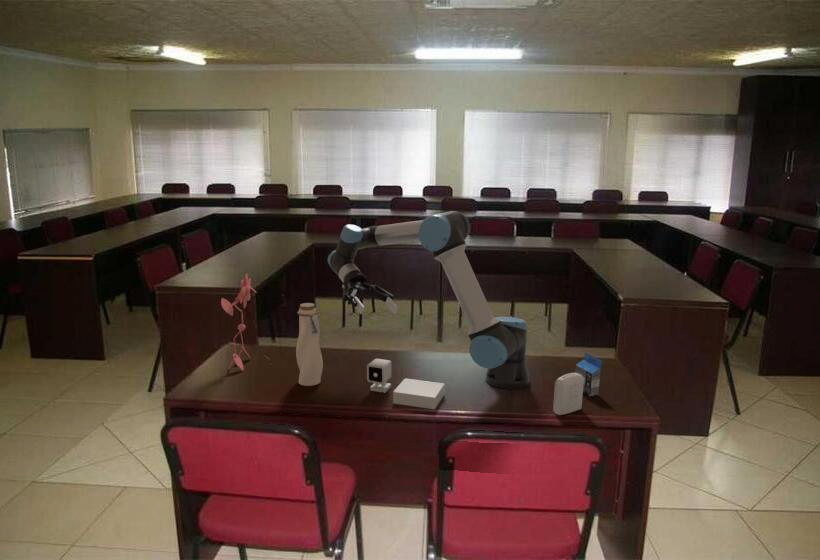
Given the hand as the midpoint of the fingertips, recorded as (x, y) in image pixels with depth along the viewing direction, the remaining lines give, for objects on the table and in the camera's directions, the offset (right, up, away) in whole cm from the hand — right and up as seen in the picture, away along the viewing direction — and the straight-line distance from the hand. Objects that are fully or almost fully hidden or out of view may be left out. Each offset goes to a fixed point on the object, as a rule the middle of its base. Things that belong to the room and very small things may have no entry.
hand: (379, 310), depth 209 cm
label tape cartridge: (+71, -28, +1) cm, 76 cm away
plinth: (+13, -29, -7) cm, 32 cm away
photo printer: (+60, -31, -14) cm, 69 cm away
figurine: (-50, -22, +21) cm, 58 cm away
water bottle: (-24, -26, +6) cm, 36 cm away
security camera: (0, -27, +1) cm, 27 cm away
